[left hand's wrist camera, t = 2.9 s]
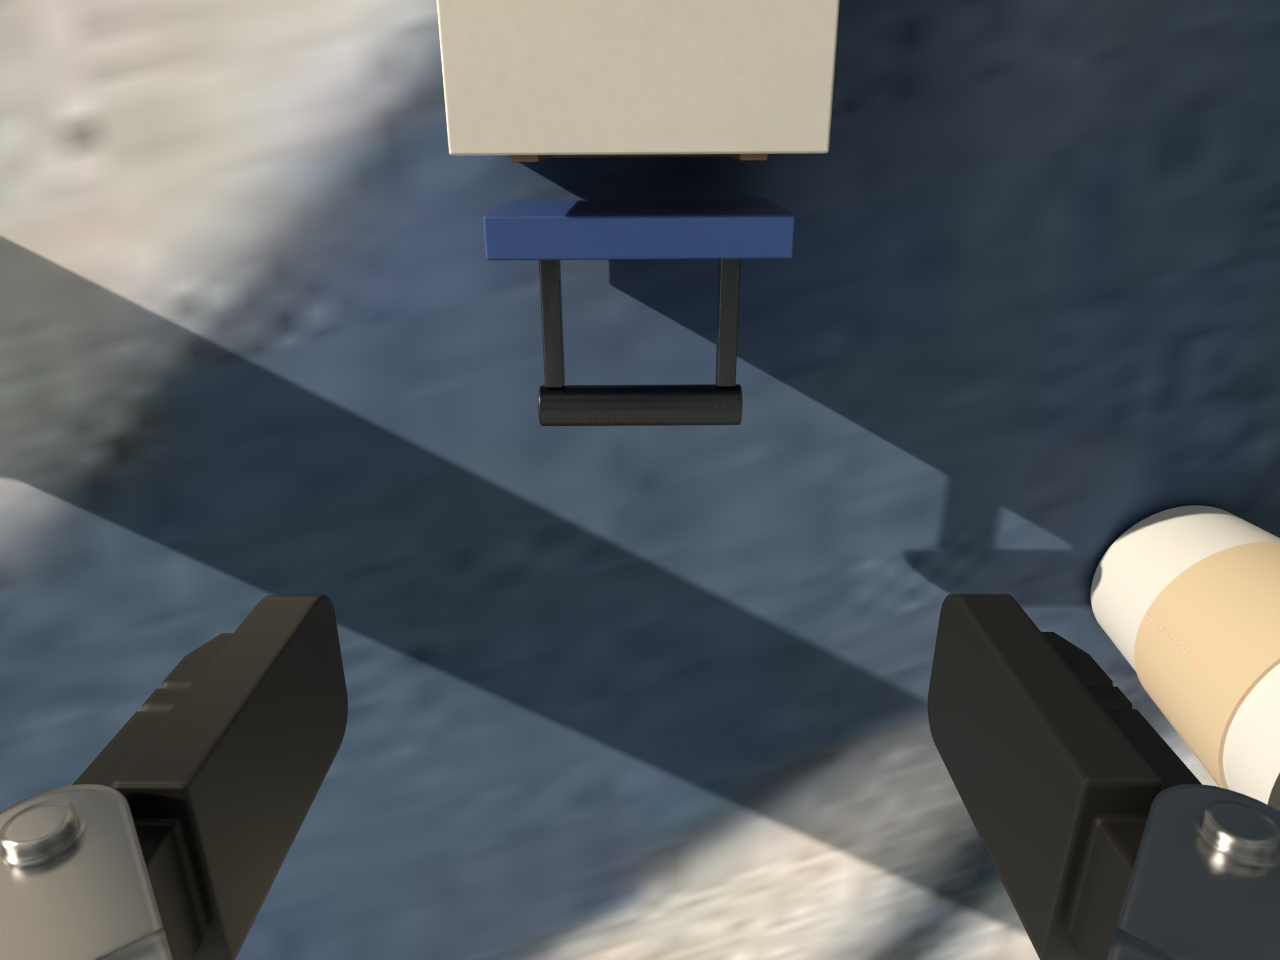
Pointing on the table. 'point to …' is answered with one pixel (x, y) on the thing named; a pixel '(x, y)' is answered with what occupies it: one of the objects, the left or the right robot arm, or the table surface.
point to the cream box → (638, 76)
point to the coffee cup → (1203, 635)
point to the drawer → (639, 235)
